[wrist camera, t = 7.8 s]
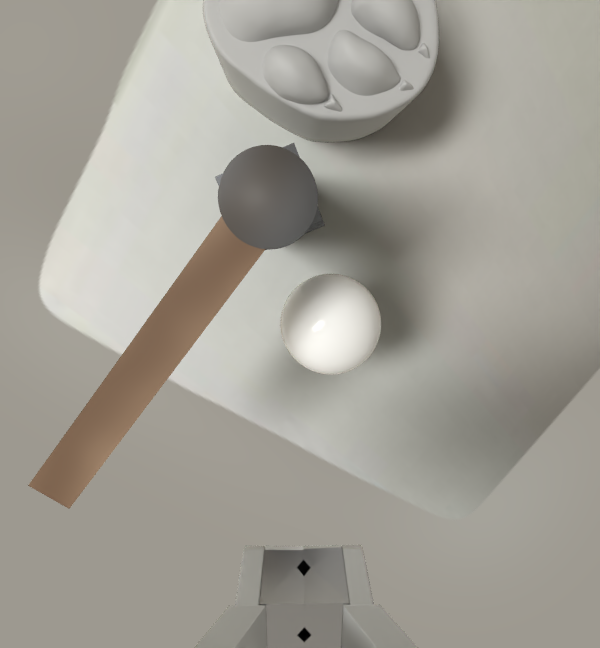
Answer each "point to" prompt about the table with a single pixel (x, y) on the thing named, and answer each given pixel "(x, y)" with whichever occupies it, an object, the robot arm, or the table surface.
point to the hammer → (187, 308)
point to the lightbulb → (330, 324)
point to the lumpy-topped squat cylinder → (325, 60)
